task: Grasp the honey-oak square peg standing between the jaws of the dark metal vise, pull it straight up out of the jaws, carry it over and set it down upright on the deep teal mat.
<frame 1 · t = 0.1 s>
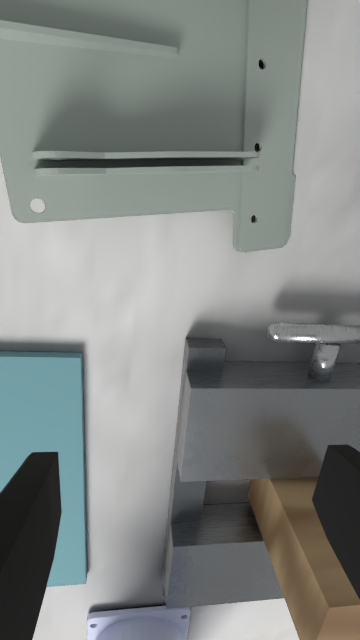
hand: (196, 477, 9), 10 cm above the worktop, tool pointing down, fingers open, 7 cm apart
metal bracket: (154, 74, 15), on the worktop
vise: (280, 473, 23), on the worktop
oak peg: (280, 473, 23), resting in vise
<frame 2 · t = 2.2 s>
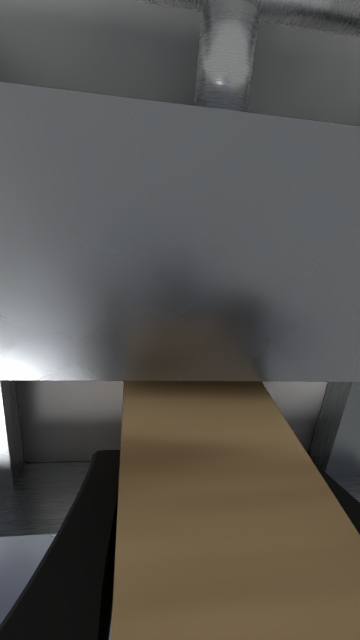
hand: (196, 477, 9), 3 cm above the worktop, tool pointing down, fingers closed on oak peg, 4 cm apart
vise: (180, 402, 12), on the worktop
oak peg: (180, 401, 12), resting in vise, touching gripper
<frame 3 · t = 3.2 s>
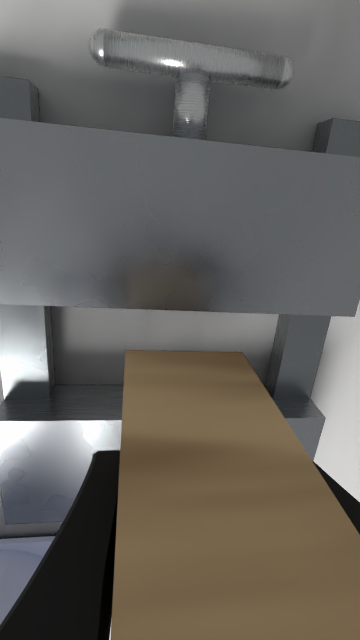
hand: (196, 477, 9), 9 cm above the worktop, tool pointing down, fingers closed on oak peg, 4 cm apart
vise: (168, 340, 17), on the worktop
oak peg: (180, 401, 12), point 5 cm above the worktop, touching gripper
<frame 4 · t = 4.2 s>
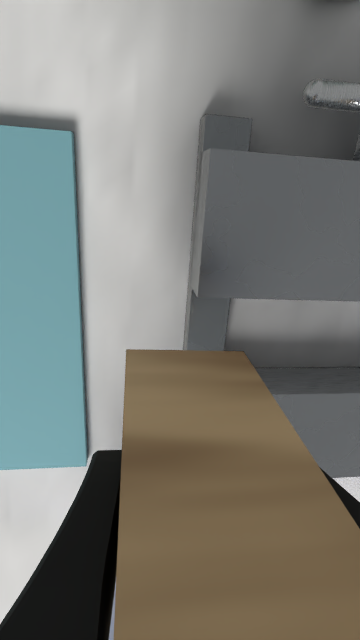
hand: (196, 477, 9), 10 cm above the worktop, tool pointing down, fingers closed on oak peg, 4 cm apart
vise: (312, 328, 20), on the worktop
oak peg: (181, 400, 12), point 7 cm above the worktop, touching gripper
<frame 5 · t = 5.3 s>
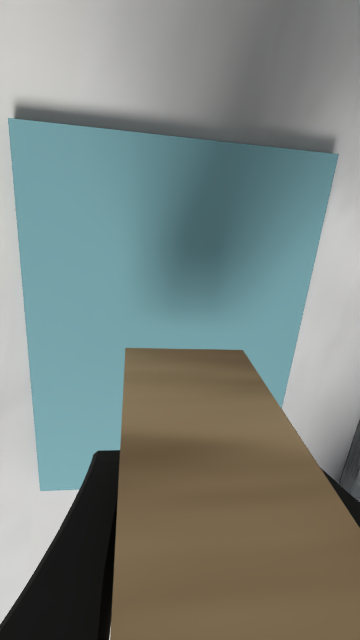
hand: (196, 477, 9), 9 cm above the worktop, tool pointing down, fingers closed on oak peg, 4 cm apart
teal mat: (167, 340, 17), on the worktop
oak peg: (180, 399, 12), point 5 cm above the worktop, touching gripper
when the fingers open (5 cm above the worktop, at t = 6.3 s): oak peg stays where it is, resting on teal mat.
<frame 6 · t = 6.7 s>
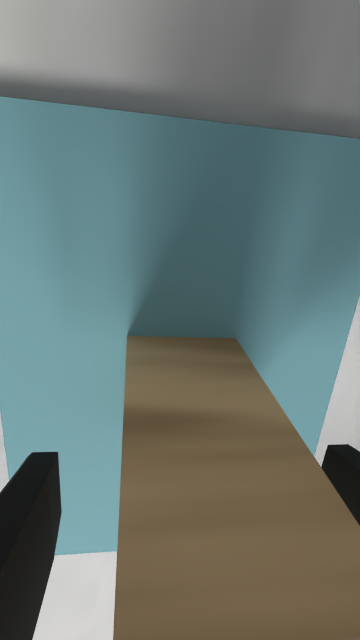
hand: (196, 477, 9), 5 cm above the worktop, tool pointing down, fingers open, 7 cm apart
teal mat: (175, 378, 14), on the worktop
oak peg: (178, 384, 13), point 1 cm above the worktop, touching teal mat
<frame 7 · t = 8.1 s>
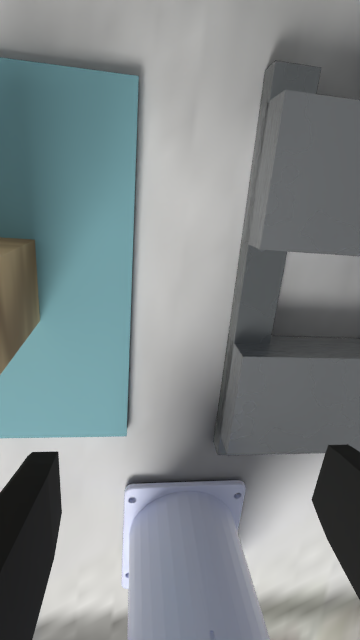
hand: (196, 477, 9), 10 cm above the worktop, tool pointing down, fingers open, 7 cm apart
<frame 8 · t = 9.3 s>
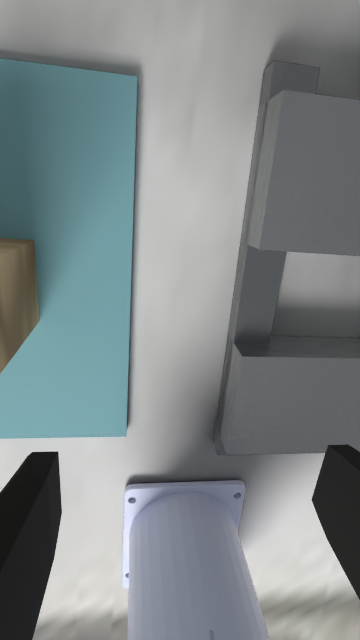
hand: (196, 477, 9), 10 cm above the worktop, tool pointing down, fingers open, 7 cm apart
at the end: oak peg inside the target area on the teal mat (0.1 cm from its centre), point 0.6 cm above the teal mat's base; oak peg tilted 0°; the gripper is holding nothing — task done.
